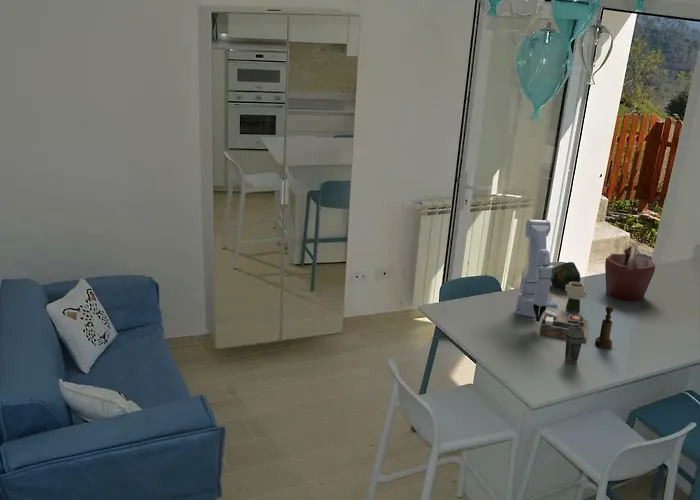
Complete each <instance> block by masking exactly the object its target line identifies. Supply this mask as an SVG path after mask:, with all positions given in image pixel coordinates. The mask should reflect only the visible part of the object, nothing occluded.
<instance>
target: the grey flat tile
mask: <svg viewBox="0 0 700 500" xmlns="http://www.w3.org/2000/svg"><path fill="white" fill-rule="evenodd" d="M544 313H545V315H548V316H551V317H554V318H556V317H557V315H558V313H557V312H554V311H552V310H549V309H546V310H545V311H544Z"/></svg>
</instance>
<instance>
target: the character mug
mask: <svg viewBox="0 0 700 500" xmlns="http://www.w3.org/2000/svg"><path fill="white" fill-rule="evenodd" d="M564 291H566V293H567V294H566V296H567V298H568V299H567V302H566V305H565V308H566V310H568V311H569V312H578V311H580V309H581V299H585V298H586V297H587V291H585V284H584V283H582V282H580V283H579V282H570V283H569V285H566V288H565V289H564Z"/></svg>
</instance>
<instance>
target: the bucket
mask: <svg viewBox="0 0 700 500" xmlns="http://www.w3.org/2000/svg"><path fill="white" fill-rule="evenodd" d="M637 251H638V246H637V245H630V246H629V247H627V248H625V249H624V253H611V254H610V255H609V256H607V257H606V258H605V264H604V270H605V273H604V274H605V290H606V295H607V294H608V296H609V295H610V296H609V297H610V298H612V297H613V298H612V299H614V300H617V301H622V302H627V303H634V302H635V303H637V302H640V301H643V299H644V297H645V295H646V293H647V290H648V287H649V285H650V283H651V280H652V278H653V276H654V274H655V270H656V265H655V263H654V262H653V261H652V260H651V259H649V258H646V257H643V256H639V255H637Z"/></svg>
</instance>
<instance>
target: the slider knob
mask: <svg viewBox="0 0 700 500" xmlns="http://www.w3.org/2000/svg"><path fill="white" fill-rule="evenodd" d="M553 318H554V317H548V316H546V321H545V325H550V326H552V325H553Z"/></svg>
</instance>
